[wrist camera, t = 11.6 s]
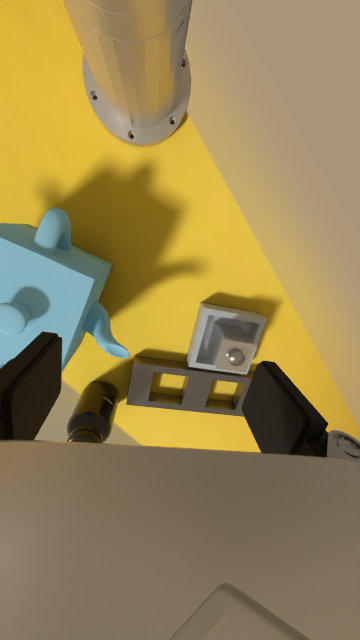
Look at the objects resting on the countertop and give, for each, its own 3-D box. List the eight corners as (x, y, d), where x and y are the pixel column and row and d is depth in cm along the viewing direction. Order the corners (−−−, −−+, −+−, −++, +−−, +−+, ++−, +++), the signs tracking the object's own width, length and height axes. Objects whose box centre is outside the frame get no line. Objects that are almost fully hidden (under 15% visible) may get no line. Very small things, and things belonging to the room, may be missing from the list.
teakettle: (90, 204, 33) (43, 186, 19) (140, 320, 40) (132, 368, 26) (-33, 249, 33) (-165, 263, 19) (38, 356, 40) (-23, 421, 26)
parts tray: (200, 302, 39) (204, 307, 37) (259, 313, 41) (267, 319, 38) (186, 357, 43) (188, 366, 40) (241, 365, 45) (246, 374, 42)
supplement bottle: (123, 384, 44) (112, 437, 33) (114, 411, 46) (101, 469, 35) (86, 376, 42) (61, 428, 31) (79, 404, 45) (53, 463, 33)
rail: (127, 395, 45) (126, 404, 43) (134, 355, 42) (133, 362, 40) (242, 407, 49) (246, 416, 47) (256, 372, 46) (261, 379, 44)
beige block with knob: (213, 321, 40) (226, 342, 33) (240, 326, 41) (258, 347, 34) (206, 346, 42) (216, 371, 35) (231, 351, 43) (247, 375, 36)
